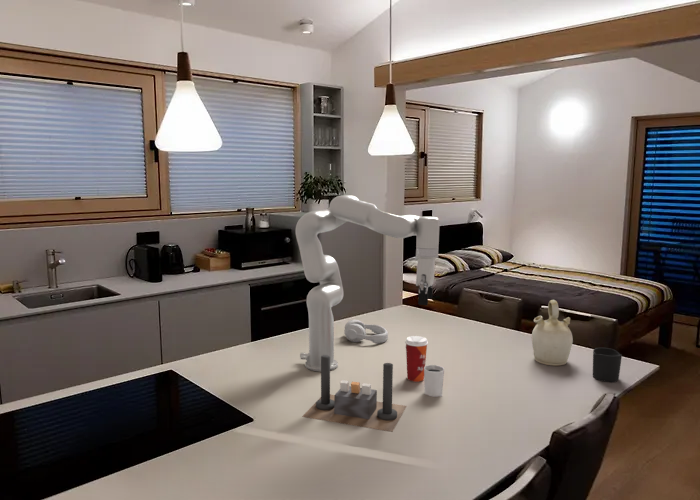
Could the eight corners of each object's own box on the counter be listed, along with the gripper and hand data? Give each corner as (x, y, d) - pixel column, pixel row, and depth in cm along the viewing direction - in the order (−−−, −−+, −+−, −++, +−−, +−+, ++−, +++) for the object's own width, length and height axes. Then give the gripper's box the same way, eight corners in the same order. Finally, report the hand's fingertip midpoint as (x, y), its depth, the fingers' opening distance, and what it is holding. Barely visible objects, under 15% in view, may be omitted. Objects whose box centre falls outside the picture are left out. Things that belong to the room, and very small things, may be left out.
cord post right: (374, 418, 159) (375, 366, 156) (380, 410, 164) (381, 360, 162) (394, 422, 157) (395, 369, 154) (399, 413, 162) (400, 362, 160)
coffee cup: (426, 383, 189) (427, 343, 187) (403, 381, 191) (404, 341, 189) (427, 375, 197) (428, 336, 195) (405, 373, 199) (406, 334, 197)
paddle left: (340, 390, 164) (339, 382, 163) (342, 388, 165) (341, 379, 164) (348, 391, 163) (347, 383, 162) (349, 389, 164) (348, 381, 163)
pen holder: (623, 377, 196) (625, 351, 195) (614, 385, 189) (617, 358, 188) (596, 371, 202) (598, 346, 201) (587, 378, 196) (589, 351, 194)
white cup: (431, 402, 174) (431, 373, 172) (419, 395, 179) (420, 366, 178) (447, 398, 177) (448, 370, 175) (435, 391, 183) (436, 363, 181)
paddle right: (362, 394, 161) (361, 385, 160) (363, 391, 163) (363, 383, 162) (369, 395, 161) (369, 386, 160) (371, 392, 162) (370, 384, 161)
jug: (529, 364, 209) (532, 302, 206) (531, 352, 223) (534, 294, 220) (571, 370, 204) (575, 306, 200) (571, 357, 218) (575, 297, 214)
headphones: (342, 343, 232) (387, 350, 232) (345, 326, 231) (390, 333, 231) (343, 331, 250) (385, 337, 250) (346, 315, 249) (388, 321, 249)
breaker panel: (302, 421, 160) (301, 397, 159) (324, 397, 177) (324, 376, 176) (392, 436, 151) (392, 411, 150) (406, 410, 168) (407, 387, 167)
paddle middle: (351, 392, 163) (350, 384, 162) (352, 389, 164) (352, 381, 163) (358, 393, 162) (358, 385, 161) (360, 390, 163) (359, 382, 162)
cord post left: (312, 408, 165) (312, 358, 163) (320, 401, 171) (320, 352, 168) (330, 411, 163) (331, 361, 161) (337, 403, 169) (337, 354, 167)
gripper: (420, 248, 191) (419, 295, 194) (411, 255, 175) (409, 306, 178) (441, 250, 189) (439, 297, 192) (434, 257, 173) (432, 308, 175)
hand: (425, 301), depth 185 cm, fingers open, 9 cm apart
